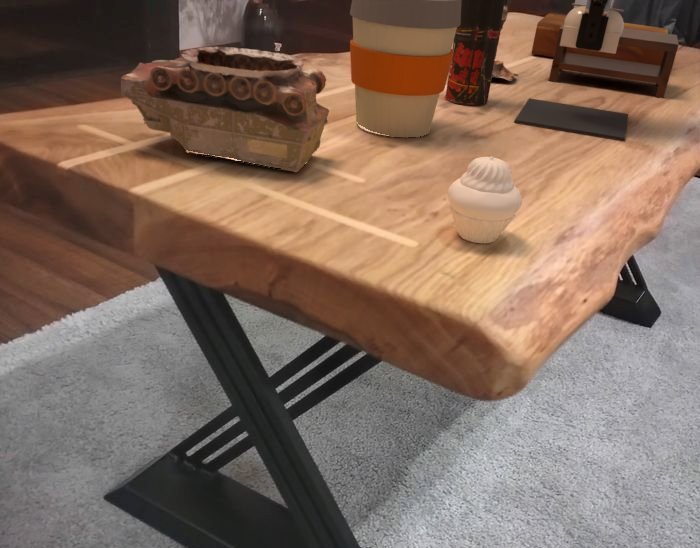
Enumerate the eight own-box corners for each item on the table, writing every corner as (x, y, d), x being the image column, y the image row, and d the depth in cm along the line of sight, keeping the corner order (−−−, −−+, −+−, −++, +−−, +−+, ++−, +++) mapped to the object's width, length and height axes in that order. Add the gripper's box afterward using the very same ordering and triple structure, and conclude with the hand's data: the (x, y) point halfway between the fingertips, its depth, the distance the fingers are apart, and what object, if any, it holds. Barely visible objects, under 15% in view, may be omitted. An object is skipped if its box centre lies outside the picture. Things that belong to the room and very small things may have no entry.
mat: (627, 116, 109) (628, 113, 109) (624, 141, 97) (625, 137, 97) (528, 100, 112) (529, 98, 112) (514, 122, 101) (514, 119, 100)
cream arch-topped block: (618, 49, 101) (628, 8, 98) (617, 54, 97) (627, 12, 95) (561, 40, 103) (569, 1, 100) (557, 45, 99) (566, 4, 97)
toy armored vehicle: (282, 196, 71) (287, 86, 66) (96, 156, 76) (87, 52, 71) (334, 158, 81) (341, 62, 76) (168, 125, 87) (164, 33, 82)
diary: (530, 55, 144) (537, 22, 141) (544, 42, 160) (550, 12, 157) (658, 74, 139) (668, 40, 136) (659, 58, 154) (668, 27, 151)
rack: (662, 85, 131) (677, 34, 127) (663, 98, 122) (678, 44, 118) (555, 69, 135) (566, 20, 131) (548, 80, 126) (559, 28, 122)
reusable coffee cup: (465, 133, 94) (486, -1, 87) (397, 148, 86) (414, 2, 79) (389, 108, 101) (402, -17, 94) (319, 121, 93) (328, -15, 86)
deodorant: (438, 95, 111) (454, -21, 103) (475, 95, 112) (494, -18, 105) (456, 105, 106) (474, -15, 98) (494, 106, 108) (515, -12, 100)
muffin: (432, 239, 65) (444, 157, 61) (453, 217, 70) (466, 140, 66) (504, 257, 63) (521, 173, 59) (521, 232, 68) (537, 154, 64)
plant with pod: (460, 67, 130) (480, -68, 119) (524, 79, 125) (551, -60, 115) (440, 74, 123) (459, -68, 113) (507, 87, 119) (533, -60, 109)
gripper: (661, -118, 83) (616, 61, 92) (660, -114, 97) (621, 41, 106) (590, -125, 84) (552, 51, 94) (599, -120, 98) (566, 33, 108)
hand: (589, 44), depth 100 cm, fingers closed on cream arch-topped block, 4 cm apart
